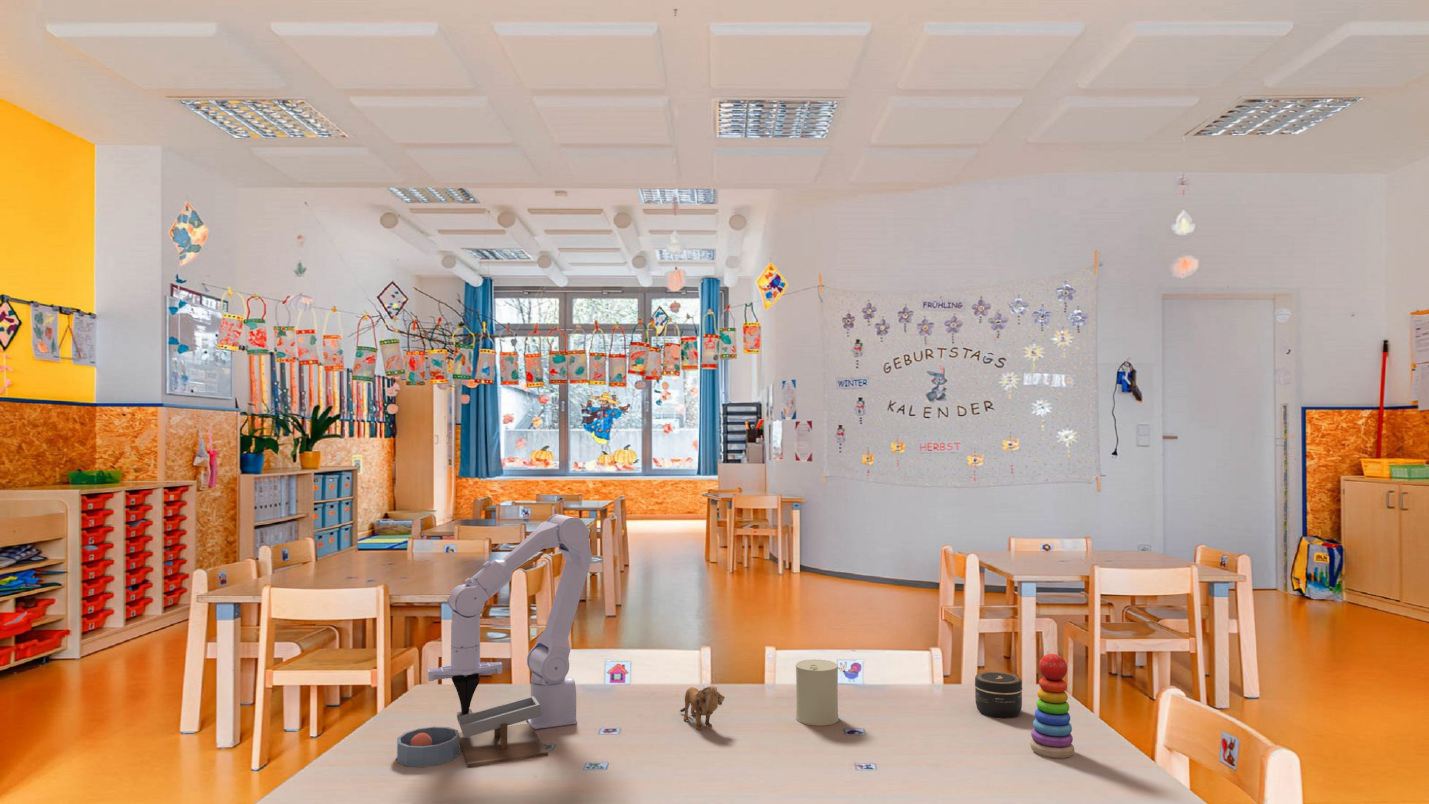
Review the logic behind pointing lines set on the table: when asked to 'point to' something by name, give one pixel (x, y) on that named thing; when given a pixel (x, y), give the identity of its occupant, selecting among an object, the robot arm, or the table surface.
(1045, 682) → the stacking toy
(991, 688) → the jar
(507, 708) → the lever
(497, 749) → the catapult base
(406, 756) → the bowl
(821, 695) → the can
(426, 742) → the ball
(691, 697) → the lion figurine
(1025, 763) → the table surface
